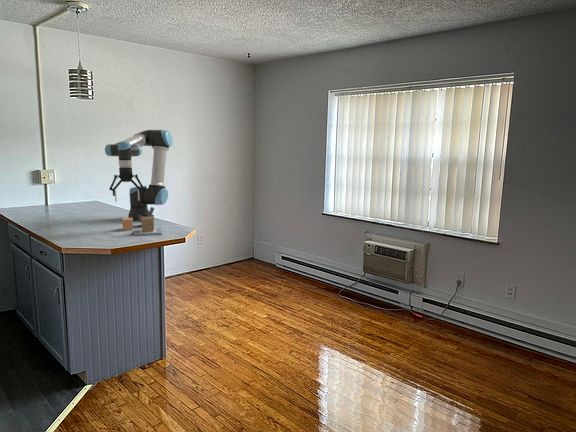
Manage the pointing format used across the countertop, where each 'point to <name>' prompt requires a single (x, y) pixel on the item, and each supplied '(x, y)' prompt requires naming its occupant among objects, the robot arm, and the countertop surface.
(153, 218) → the mortar and pestle
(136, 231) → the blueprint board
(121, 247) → the countertop surface
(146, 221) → the walnut block
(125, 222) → the terracotta block
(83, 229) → the countertop surface
